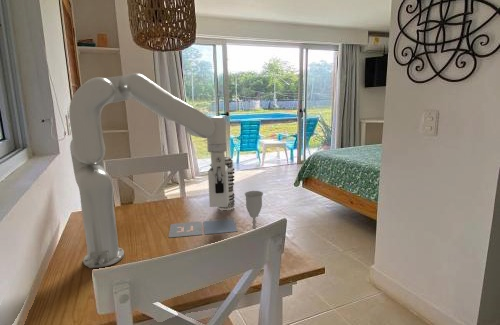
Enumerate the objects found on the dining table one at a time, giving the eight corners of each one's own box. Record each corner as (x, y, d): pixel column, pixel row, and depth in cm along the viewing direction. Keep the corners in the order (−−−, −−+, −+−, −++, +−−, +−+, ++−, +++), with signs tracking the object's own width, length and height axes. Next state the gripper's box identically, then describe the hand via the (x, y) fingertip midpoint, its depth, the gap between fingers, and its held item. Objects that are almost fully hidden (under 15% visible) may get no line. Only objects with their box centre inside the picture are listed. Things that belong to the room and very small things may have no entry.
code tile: (202, 234, 123) (202, 234, 123) (168, 237, 121) (168, 237, 120) (201, 222, 135) (201, 221, 135) (170, 224, 133) (170, 224, 133)
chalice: (257, 244, 114) (256, 197, 110) (241, 240, 118) (240, 195, 114) (266, 236, 120) (266, 192, 116) (251, 233, 124) (251, 189, 120)
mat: (237, 231, 125) (237, 231, 125) (205, 234, 123) (204, 234, 123) (233, 219, 138) (233, 218, 138) (203, 221, 135) (203, 221, 135)
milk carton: (229, 201, 132) (227, 157, 128) (227, 207, 125) (225, 161, 121) (212, 201, 132) (210, 157, 128) (209, 207, 125) (207, 161, 121)
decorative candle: (238, 209, 150) (236, 158, 145) (219, 212, 147) (217, 160, 141) (232, 203, 158) (230, 155, 153) (214, 205, 155) (212, 156, 150)
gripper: (228, 150, 116) (230, 195, 119) (224, 143, 132) (225, 183, 136) (208, 151, 114) (210, 197, 118) (206, 144, 131) (208, 184, 135)
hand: (218, 189), depth 127 cm, fingers closed on milk carton, 8 cm apart
